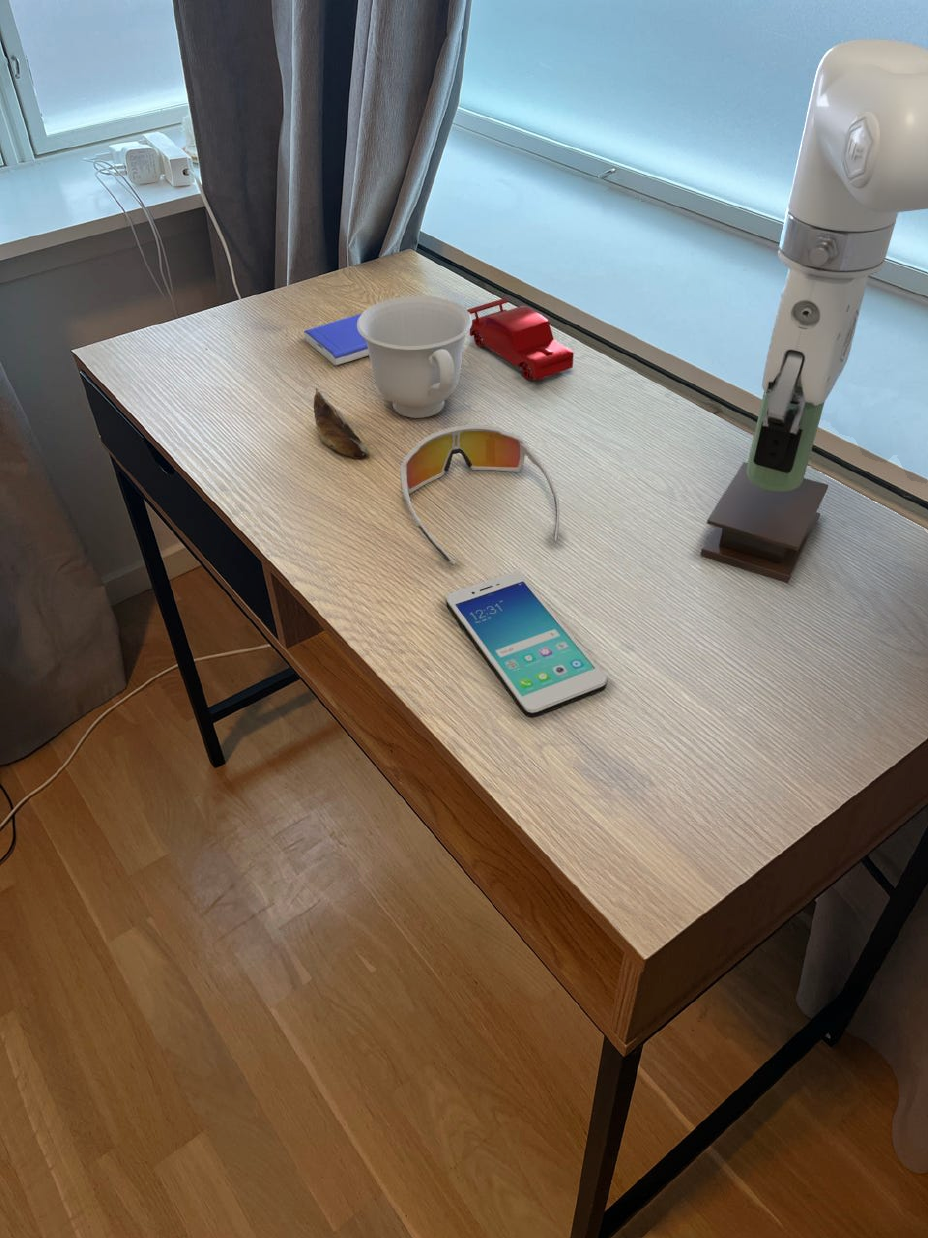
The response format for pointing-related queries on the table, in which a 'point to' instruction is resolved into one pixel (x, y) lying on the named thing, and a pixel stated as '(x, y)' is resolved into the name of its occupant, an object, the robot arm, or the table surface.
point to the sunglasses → (479, 452)
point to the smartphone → (525, 643)
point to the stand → (763, 526)
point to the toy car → (521, 340)
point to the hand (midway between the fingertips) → (782, 448)
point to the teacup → (415, 350)
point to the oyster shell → (336, 429)
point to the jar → (793, 479)
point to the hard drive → (338, 340)
